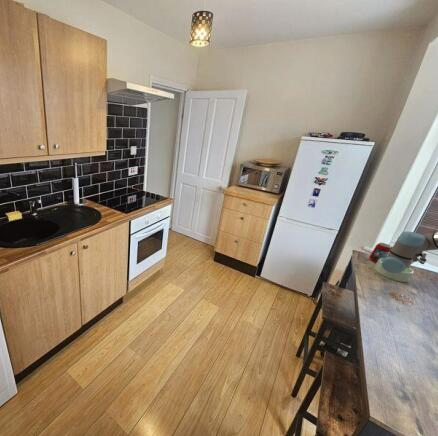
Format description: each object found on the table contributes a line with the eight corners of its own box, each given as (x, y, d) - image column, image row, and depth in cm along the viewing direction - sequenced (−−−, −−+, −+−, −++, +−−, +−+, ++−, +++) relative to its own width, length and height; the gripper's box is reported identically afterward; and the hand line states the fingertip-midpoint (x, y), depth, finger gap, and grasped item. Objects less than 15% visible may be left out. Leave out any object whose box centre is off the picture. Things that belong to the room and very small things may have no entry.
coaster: (415, 301, 114) (415, 301, 114) (409, 308, 110) (410, 307, 109) (391, 290, 121) (391, 289, 121) (385, 295, 116) (386, 295, 116)
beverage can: (371, 262, 146) (381, 246, 141) (366, 256, 152) (375, 241, 147) (384, 264, 144) (394, 248, 139) (378, 259, 150) (388, 243, 145)
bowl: (410, 278, 133) (417, 269, 130) (403, 285, 126) (409, 276, 123) (378, 264, 144) (383, 255, 141) (369, 270, 137) (375, 261, 134)
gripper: (378, 256, 120) (393, 247, 131) (420, 273, 108) (432, 261, 119) (385, 244, 117) (400, 235, 128) (429, 260, 105) (441, 249, 116)
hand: (416, 248), depth 124 cm, fingers closed on stirring pestle, 2 cm apart
